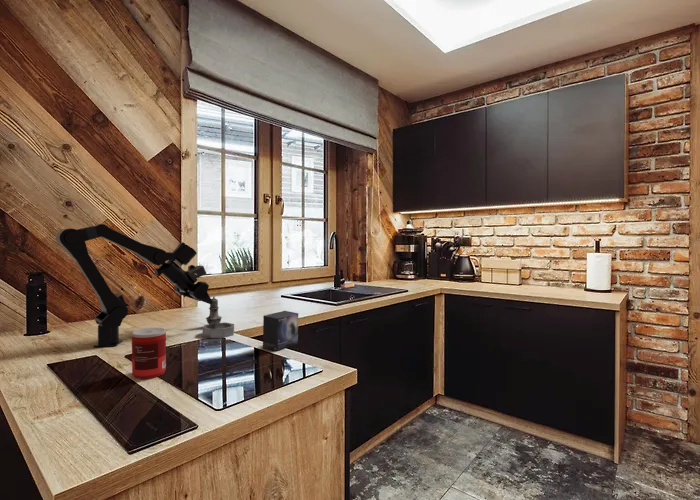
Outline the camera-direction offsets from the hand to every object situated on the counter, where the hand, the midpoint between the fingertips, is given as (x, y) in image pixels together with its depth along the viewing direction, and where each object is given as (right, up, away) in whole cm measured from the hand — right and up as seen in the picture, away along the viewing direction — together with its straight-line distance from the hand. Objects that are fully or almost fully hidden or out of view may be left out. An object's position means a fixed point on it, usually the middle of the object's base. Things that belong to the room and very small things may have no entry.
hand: (206, 301), depth 146 cm
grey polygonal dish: (+8, -11, -8) cm, 15 cm away
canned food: (+4, -12, -48) cm, 50 cm away
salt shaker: (+2, -10, +2) cm, 11 cm away
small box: (+32, -12, -22) cm, 41 cm away
